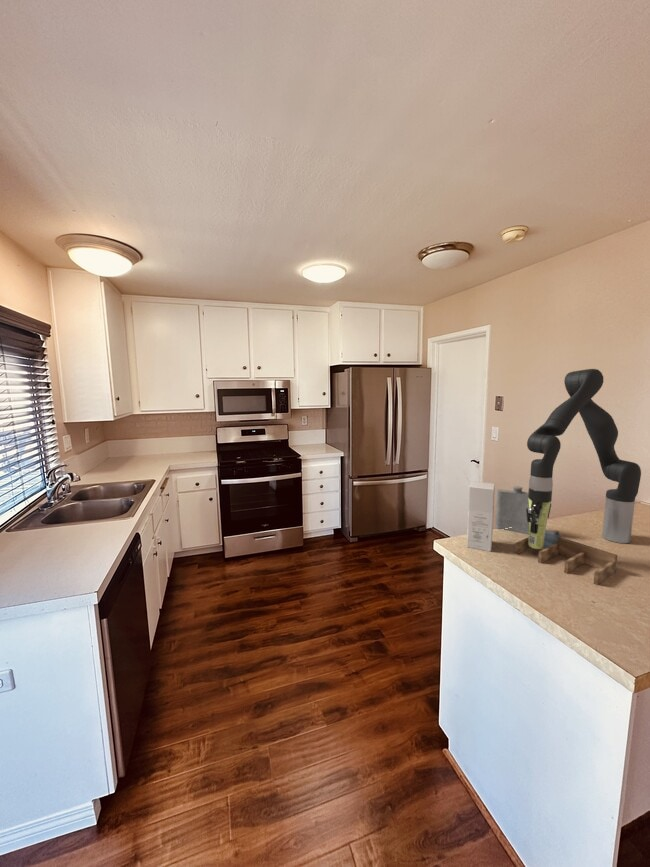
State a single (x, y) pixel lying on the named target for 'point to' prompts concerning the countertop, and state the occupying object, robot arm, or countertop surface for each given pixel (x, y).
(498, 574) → the countertop surface
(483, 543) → the tall white carton
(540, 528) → the tube
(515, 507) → the hip flask
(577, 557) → the wooden slatted rack
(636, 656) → the countertop surface
